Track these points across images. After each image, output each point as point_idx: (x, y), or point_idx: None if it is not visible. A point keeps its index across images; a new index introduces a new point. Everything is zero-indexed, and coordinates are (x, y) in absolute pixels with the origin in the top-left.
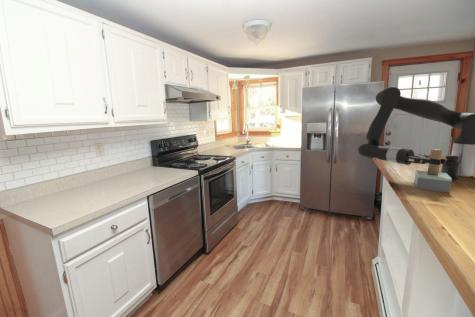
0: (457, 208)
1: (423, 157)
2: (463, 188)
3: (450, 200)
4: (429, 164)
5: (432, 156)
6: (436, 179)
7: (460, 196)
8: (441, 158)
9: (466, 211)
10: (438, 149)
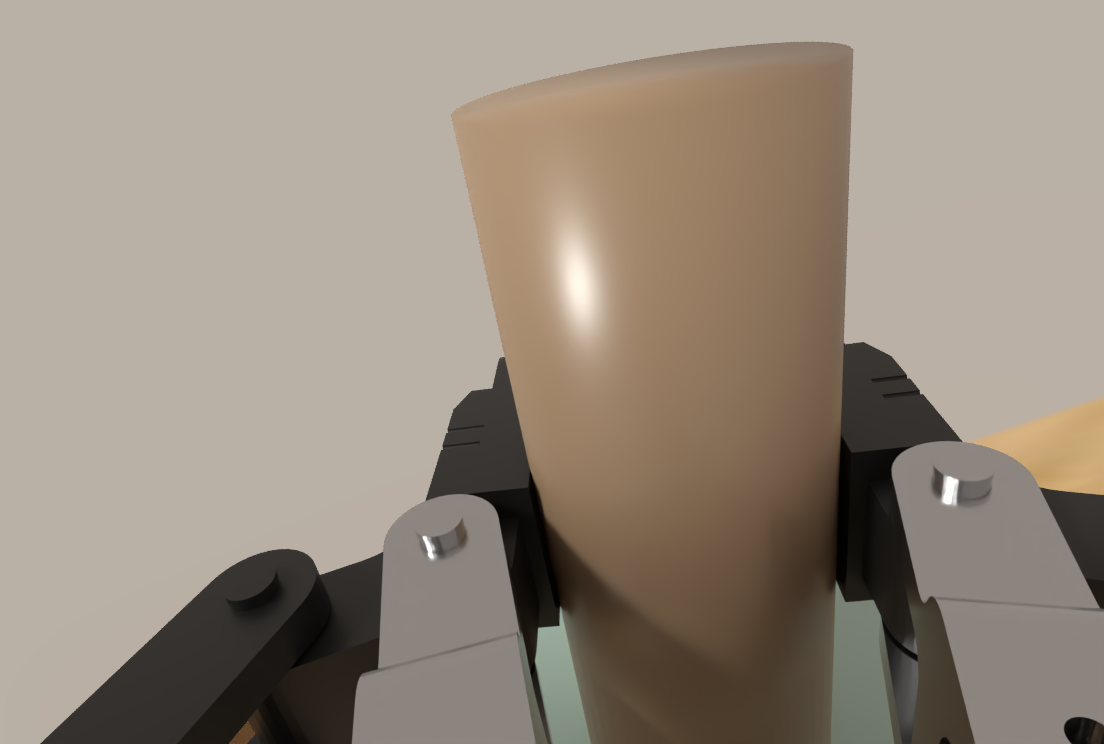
0: (1092, 468)
1: (1067, 617)
2: (240, 739)
3: None
4: (827, 652)
5: (839, 346)
6: None
7: None
8: (500, 393)
9: (1066, 428)
10: (498, 100)
